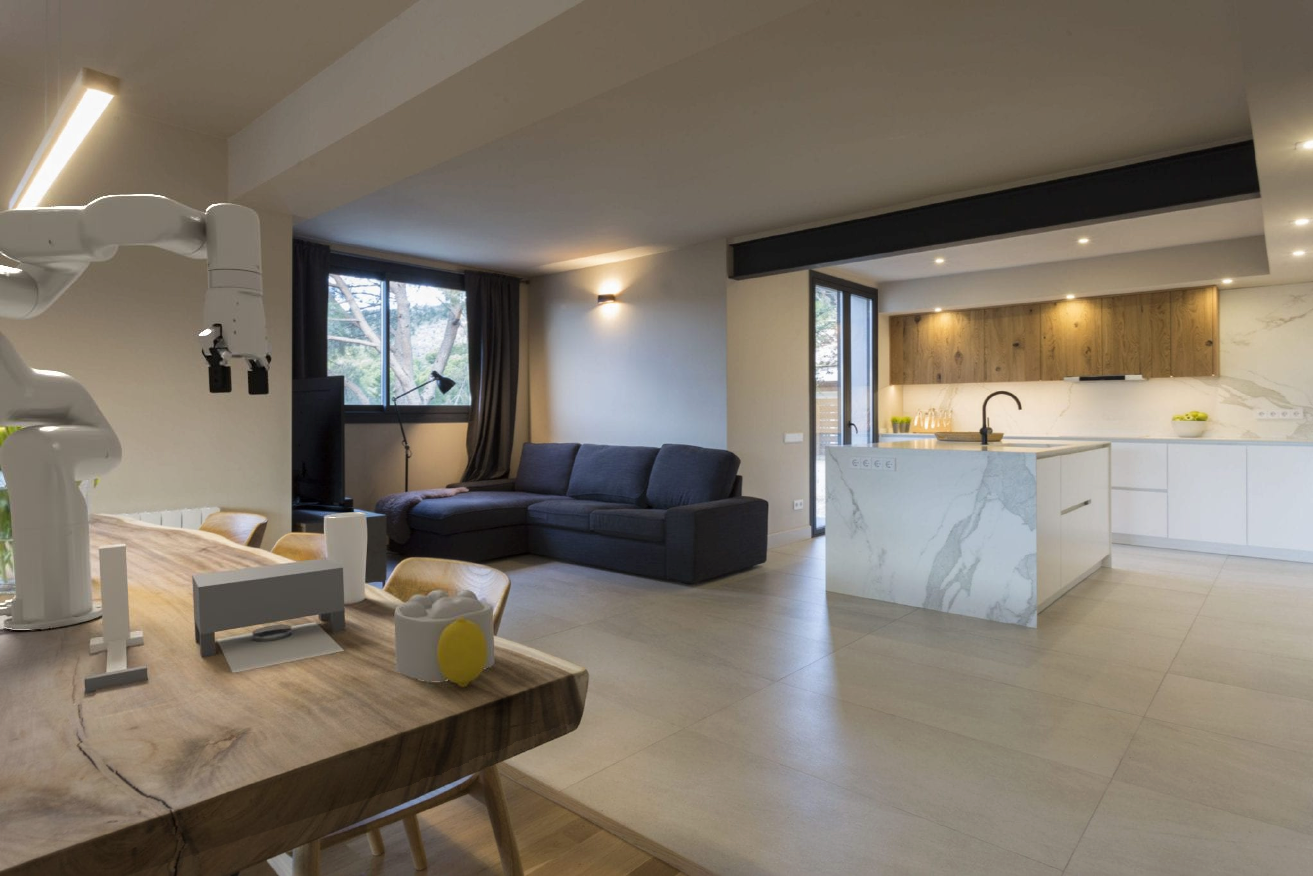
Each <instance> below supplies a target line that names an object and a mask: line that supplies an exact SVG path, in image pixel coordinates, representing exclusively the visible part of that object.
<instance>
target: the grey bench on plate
mask: <svg viewBox="0 0 1313 876" xmlns="http://www.w3.org/2000/svg"><path fill="white" fill-rule="evenodd" d="M192 597H193V598H192V600H193V602H192V603H193V619H194V621H193V622H194V640H195V643H199V649H200V651H199V652H200V656H201V658H206V657H211V656H216V634H215V633H217V632H223V631H224V632H225V631H228V630H234V629H236V630H237V629H241V628H247V627H253V626H259V625H264V624H271V623H276V622H283V621H289V620H293V619H294V620H295V619H300V618H306V617H311V616H318V620H319V621H321V622H323V621H329V620H330V629H331V632H332V634H335V633H336V634H337V633H340V632H346V614H345V613H346V612H345V604H344V583H343V567H341V566H340V565H338V564H336V563H335V562H333V561H331V560H330V559H328V558H327V557H325V558H317V559H308V560H300V561H295V562H294V561H292V562H286V563H278V564H277V563H276V564H269V565H262V566H261V565H260V566H254V567H247V568H237V569H230V570H222V571H214V572H206V573H198V574H192Z"/></svg>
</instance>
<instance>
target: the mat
mask: <svg viewBox="0 0 1313 876" xmlns="http://www.w3.org/2000/svg"><path fill="white" fill-rule="evenodd" d="M290 626H291V628H292V635H291V636H289V637H287V638H284V639H280V640H276V641H269V642H256V641H253V638H252V632H251V633H246V634H241V635H233V636H227V637H223V638H217V639H216V640H217V643H218V645H219V647H220V650H221V651H222V653H223V656H224V658H225V660H226V662H227V664H228V666H229V668H230V671H231V673H232V674H237V673H240V672H246V671H251V670H256V669H261V668H266V667H270V666H277V665H281V664H285V663H286V664H287V663H291V662H297V661H301V660H302V661H303V660H307V659H312V658H317V657H321V656H325V655H332V654H335V653H336V654H337V653H342V652H345V650H344V649H343V648H342V647H341V646H340V644H338V642H336V641H335V640H334V639H333V638H332V637H331V636H330V635H329V634H328V633H327V632H326V631H325V630H324V629H323V628H322V627H321V626H320V625H319V624H318V623H317V622H307V623H304V624H298V625H290Z"/></svg>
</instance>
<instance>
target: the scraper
mask: <svg viewBox="0 0 1313 876" xmlns="http://www.w3.org/2000/svg"><path fill="white" fill-rule="evenodd" d="M126 545H127V544H126V542H125V543H117V544H116V543H115V544H107V545H106V544H105V545H99V546H98V557H99V558H98V559H99V578H100V598H101V605H102V615H101V618H102V635H103V636H97V637H91V638H90V640H89V641H90V642H89V654H90V655H91V654H96V653H97V654H98V653H100V652H103V651H104V652H105V651H106V652H107V654H106V672H104V673H103V672H101V673H98V674H92V675H86V676H84V681H83V682H84V694H86V693H92V692H96V690H102V689H106V688H107V689H108V688H111V687H112V688H113V687H118V686H123V685H128V684H133V683H137V682H143V681H147V680H149V678H148V676H149V675H148V665H141V666H136V667H130V668H128V666H127V665H128V664H127V663H128V662H127V661H128V660H127V647H133V646H138V645H144V630H142V629H141V630H136V631H135V630H134V631H131V630H130V629H131V627H130V606H129V589H128V588H129V586H128V583H129V582H128V569H127V568H128V565H127V564H128V563H127V548H126Z"/></svg>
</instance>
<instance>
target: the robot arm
mask: <svg viewBox="0 0 1313 876" xmlns="http://www.w3.org/2000/svg"><path fill="white" fill-rule="evenodd" d="M261 243H262V242H261V223H260V217H259V214H258V213H257V212H256V211H255V210H254V209H253V208H250V207H248V206H245V205H241V204H236V203H216V204H211V205H210V206H208V207H207V208H206V210H205V211H202V210H198V209H195V208H192V207H190V206H188V205H186V204H183V203H181V202H178V201H177V200H174V199H172V198H169V197H166V196H162V195H155V194H118V195H117V194H116V195H107V196H105V195H104V196H101V197H98V198H97V199H95V200H93V201H91V202H89V203H88V204H87V205H84V206H83V205H81V206H54V207H53V206H51V207H25V208H24V207H22V208H21V207H20V208H11V209H5V210H2V211H0V254H1V255H3V256H5V257H6V258H8V259H10V260H12V261H15V262H18V263H19V264H18V265H17V266H16V267H9V266H4V265H2V264H1V265H0V318H3V319H8V320H18V321H19V320H20V321H21V320H28V319H32V318H35V317H36V318H37V316H39V315H41V314H43V313H44V312H46V311H47V310H48V309H49V308H50V307H51V306H52V305H53V304H54V303H55V302H56V301H57V300H58V299H59V298H60V297H61V296H62V294H64V293H65V292H66V291H67V290H68V289H69V288H70V287H71V286H72V284H74V283H75V282H76V281H77V280H78V279H79V278H80V276H82V274H83V273H84V272H85V271H86V269H87V268H88V267H89V265H90V264H91V263H94V262H95V263H96V262H105V261H109V260H110V259H112V258H113V257H114V256H115V255H116V253H117V252H118V249H119V246H153V247H156V248H159V249H163V250H166V251H169V252H171V253H174V254H177V255H181V256H184V257H186V258H190V259H194V260H206V265H207V266H206V268H207V271H206V272H207V286H208V287H207V289H208V290H207V291H206V293H205V298H204V305H203V312H202V313H203V314H202V315H203V316H202V332H201V333H200V334H198V335H197V340H198V342H199V345H200V347H201V355H202V356H203V357H204V359H205V361H204V364H205V366H206V367H208V368H207V369H208V389H209V393H211V394H226V393H231V392H232V391H233V387H232V367H231V366H230V365H228V364H229V362H230V360H231V359H242V358H244V360H245V362H246V364H247V366H248V368H249V369H250V370H247V390H248V395H251V396H257V395H258V396H259V395H262V396H263V395H265V396H266V395H268V394H270V387H269V385H270V384H269V371H270V368H271V367H270V364H271V362H272V358H273V357H272V355H273V351H274V347H273V344H272V343H270V342H269V340H268V332H267V331H268V330H267V322H266V314H265V308H264V303H263V298H262V297H264V290H263V289H264V288H263V270H262V247H261V246H262V245H261ZM0 427H7V428H9V427H10V428H13V427H14V428H19V429H17V430H15V431H13V432H12V433H10V434H9V435H8V436H7V437H6V438H5V439H4V440H3V442H2V443H1V446H0V469H1V473H2V475H3V476H2V477H3V479H4V482H5V485H6V488H7V494H8V499H9V500H8V501H9V507H10V508H9V510H10V520H11V534H12V552H13V555H12V556H13V569H14V570H13V571H14V572H13V573H14V588H15V589H14V591H15V594H14V596H13V597H12V599H6V600H5V601H4V602H1V603H0V617H1V616H6V617H7V618H6V619H4V620H3V627H4V626H5V627H7V628H12V629H41V630H47V629H48V630H49V628H50V629H55V628H61V627H62V628H63V627H67V626H72V625H77V624H81V623H84V622H88V621H92V620H94V619H97V618H99V617H102V604H101V603H100V604H99V603H93V583H92V567H91V566H92V564H91V563H92V562H91V545H90V543H91V542H90V525H89V524H90V522H89V521H90V520H89V512H88V506H87V505H88V504H87V502H86V499H85V497H84V494H83V492H82V491H81V489H80V488H79V485H78V483H77V482H81V481H89V480H95V479H101V478H105V477H107V476H109V475H111V474H112V473H113V472H115V471H116V470H117V469H118V467H119V465H120V464H121V462H122V458H123V450H122V445H121V442H120V438H119V437H118V435H117V433H116V431H115V430H114V428H113V427H112V425H111V424H110V422H109V421H108V419H107V418H106V416H105V414H104V413H103V411H102V409H101V408H100V407H99V405H98V403H97V402H96V400H95V399H94V398H93V396H92V395H91V393H90V391H88V389H87V388H86V387H85V386H84V385H83V384H82V383H81V382H80V381H79V380H77V379H76V378H75V377H73V376H72V375H69V374H67V373H64V372H60V371H54V370H45V369H36V368H33V367H31V366H30V365H28V363H26V361H25V360H24V359H23V357H21V355H20V354H19V351H18V350H17V349H16V347H15V345H14V344H13V342H12V341H11V340H10V338H9V337H7V336H6V335H5V334H4V333H3V332H2V331H1V330H0Z"/></svg>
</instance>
